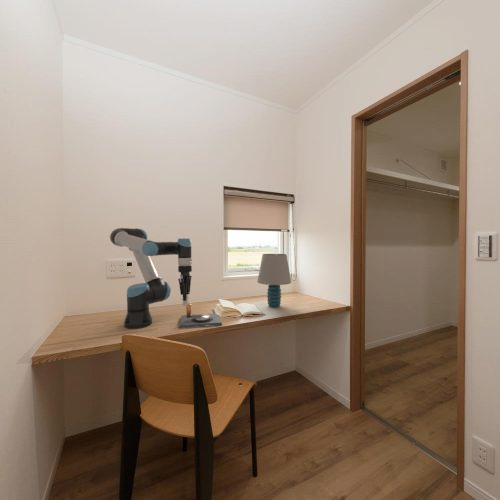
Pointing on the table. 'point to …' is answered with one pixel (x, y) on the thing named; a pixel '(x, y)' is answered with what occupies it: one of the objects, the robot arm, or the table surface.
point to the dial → (196, 315)
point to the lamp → (274, 276)
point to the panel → (191, 322)
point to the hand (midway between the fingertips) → (185, 305)
